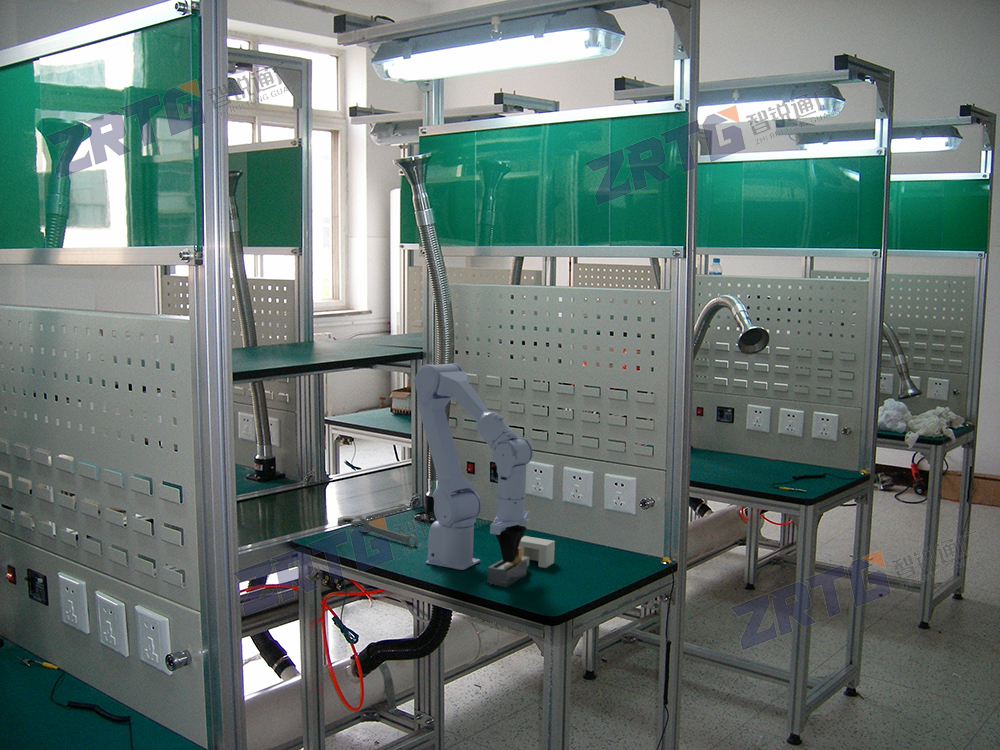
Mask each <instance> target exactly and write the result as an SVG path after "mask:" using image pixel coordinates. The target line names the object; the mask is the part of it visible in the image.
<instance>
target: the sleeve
mask: <svg viewBox="0 0 1000 750" xmlns="http://www.w3.org/2000/svg"><path fill="white" fill-rule="evenodd" d="M505 563H507V562H506V561H503V558H502V559H500V560H499V561H497V562H495V563H493V564H491V565H489V566H488V567H487V578H486V579H487V581H486V582H487V583H489V584H488V585H492V584H494V586H497V585H498V586H497V587H502V586H503V588H508V587H509V586H511V585H513V584H515V583H516V582H517V581H519V580H521V579H523V578H524V577H526V576H527V569H528V567H527V559H524V560H522V561H520V562H518V563H517V564H515V565H513V566H511V567H510V568H508V569H506V570H504V569H499V568H498V567H499V566H501V565H503V564H505ZM487 583H486V584H487Z"/></svg>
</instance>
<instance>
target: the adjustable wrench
mask: <svg viewBox="0 0 1000 750" xmlns="http://www.w3.org/2000/svg"><path fill="white" fill-rule="evenodd" d="M406 508H407V509H408V504H405V503H399V504H396V505H395V504H394V505H391V506H388V507H384V508H381V509H378V510H374V511H370V512H367V513H362V514H356V515H345V516H339V517H338V518H337V525H338V526H342V525H343V524H347V523H346V522H351V523H350V524H351V525H354V524H359V523H362V521H361V520H360V519H359V518H366V519H370V520H372V519H371V518H374V519H376V518H375V517H377V518H379V517H378V516H381V515H385V514H388V515H390V514H389V513H392V514H394V513H393V512H395V513H398V512H397V511H399V512H401V511H400V510H402V511H404V510H403V509H406ZM407 509H406V510H407ZM385 516H386V515H385ZM381 517H382V516H381Z"/></svg>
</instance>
